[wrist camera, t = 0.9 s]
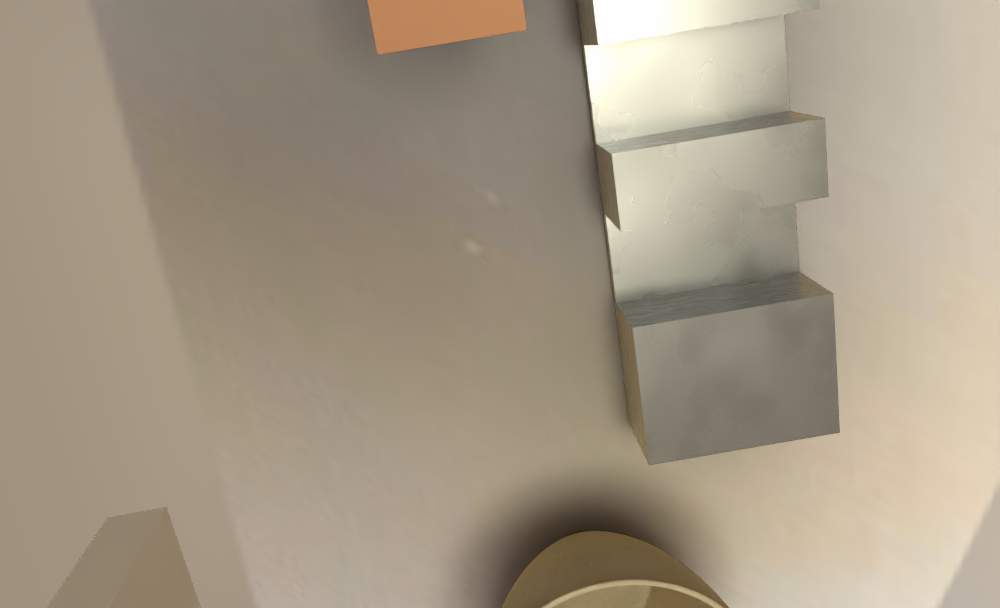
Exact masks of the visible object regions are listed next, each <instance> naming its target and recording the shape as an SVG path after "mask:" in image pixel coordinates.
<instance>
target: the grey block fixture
mask: <svg viewBox="0 0 1000 608" xmlns="http://www.w3.org/2000/svg"><path fill="white" fill-rule="evenodd" d="M576 2H577V10H578V18H579V26H580V34H581V42H582V50H583V58H584V66H585V74H586V82H587V89H588V97H589V105H590V113H591V121H592V129H593V137H594V145H595V153H596V161H597V169H598V177H599V185H600V193H601V200H602V208H603V216H604V224H605V232H606V240H607V248H608V256H609V264H610V272H611V280H612V288H613V296H614V304H615V311H616V319H617V327H618V335H619V343H620V351H621V359H622V367H623V375H624V383H625V391H626V399H627V407H628V415H629V422H630V426H631V428H632V430H633V432H634V434H635V437H636V439H637V441H638V443H639V445H640V447H641V449H642V451H643V453H644V455H645V458H646V460H647V462H648V464H649V465H653V464H659V463H665V462H671V461H677V460H682V459H688V458H694V457H700V456H706V455H712V454H717V453H723V452H729V451H735V450H741V449H747V448H752V447H758V446H764V445H770V444H776V443H781V442H787V441H793V440H799V439H805V438H811V437H816V436H822V435H828V434H834V433H840V427H839V406H838V385H837V364H836V343H835V322H834V301H833V293H831V292H830V291H828V290H827V289H825V288H824V287H822V286H820V285H819V284H817V283H816V282H814V281H813V280H811V279H810V278H808V277H807V276H805V275H804V274H802V273H800V272H799V258H798V241H797V224H796V207H795V202H801V201H807V200H813V199H819V198H825V197H829V196H828V175H827V154H826V134H825V118H822V117H817V116H812V115H807V114H802V113H797V112H791V111H790V106H789V89H788V72H787V55H786V38H785V21H784V14H789V13H795V12H801V11H807V10H813V9H819V0H576Z"/></svg>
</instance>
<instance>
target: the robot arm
mask: <svg viewBox="0 0 1000 608" xmlns="http://www.w3.org/2000/svg"><path fill="white" fill-rule="evenodd" d="M47 608H201V607H200V604H199V601H198V598H197V595H196V592H195V589H194V586H193V583H192V580H191V577H190V574H189V572H188V569H187V566H186V563H185V560H184V557H183V554H182V551H181V548H180V545H179V542H178V539H177V536H176V533H175V530H174V528H173V525H172V522H171V519H170V516H169V513H168V510H167V507H163V508H158V509H152V510H147V511H142V512H136V513H131V514H125V515H119V516H114V517H109V518H107V519H106V521H105V522H104V524H103V525H102V527H101V528H100V530H99V531H98V533H97V534H96V535H95V537H94V539H93V540H92V541H91V543H90V544H89V546H88V547H87V549H86V551H85V552H84V553H83V555H82V556H81V558H80V559H79V561H78V562H77V564H76V565H75V567H74V568H73V570H72V571H71V573H70V574H69V576H68V577H67V579H66V580H65V582H64V583H63V585H62V586H61V588H60V589H59V590H58V592H57V593H56V595H55V597H54V598H53V599H52V601H51V603H50V604H49V605H48V607H47Z"/></svg>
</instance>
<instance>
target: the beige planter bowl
mask: <svg viewBox="0 0 1000 608" xmlns="http://www.w3.org/2000/svg"><path fill="white" fill-rule="evenodd" d="M501 608H729V607H728V606H727V605H726V604H725V603H724V602H723V600H722V599H721V598H720V597H719V596H718V595H717V594H716V593H715V592H714V591H713V590H712V589H711V588H710V587H709V586H708V585H707V584H706V583H705V582H704V581H703V580H702V579H701V578H700V577H698V576H697V575H696V574H695V573H694V572H693V571H691V570H690V569H689V568H688V567H686V566H685V565H684V564H683V563H681V562H680V561H678V560H677V559H675V558H674V557H672V556H671V555H669V554H667V553H666V552H664V551H662V550H660V549H659V548H657V547H655V546H653V545H651V544H649V543H646V542H644V541H641V540H639V539H636V538H634V537H630V536H627V535H623V534H619V533H614V532H607V531H585V532H579V533H575V534H572V535H569V536H566V537H564V538H562V539H560V540H558V541H556V542H555V543H553V544H552V545H550V546H549V547H547V548H546V549H545V550H543V551H542V552H541V553H540V554H539V555H538V556H537V557H536V558H535V559H534V560H533V561H532V562H531V563H530V564H529V565H528V566H527V567H526V568H525V570H524V571H523V572H522V574H521V575H520V576H519V578H518V579H517V581H516V582H515V584H514V585H513V587H512V588H511V590H510V592H509V593H508V595H507V597H506V599H505V601H504V603H503V605H502V607H501Z"/></svg>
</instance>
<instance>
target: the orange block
mask: <svg viewBox="0 0 1000 608" xmlns="http://www.w3.org/2000/svg"><path fill="white" fill-rule="evenodd" d="M367 3H368V8H369V13H370V18H371V23H372V29H373V34H374V39H375V44H376V49H377V54H378V55H380V54H386V53H393V52H399V51H405V50H411V49H417V48H423V47H429V46H435V45H441V44H447V43H453V42H459V41H465V40H471V39H477V38H483V37H489V36H495V35H501V34H507V33H512V32H518V31H524V30H527V26H526V19H525V12H524V5H523V0H367Z"/></svg>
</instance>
